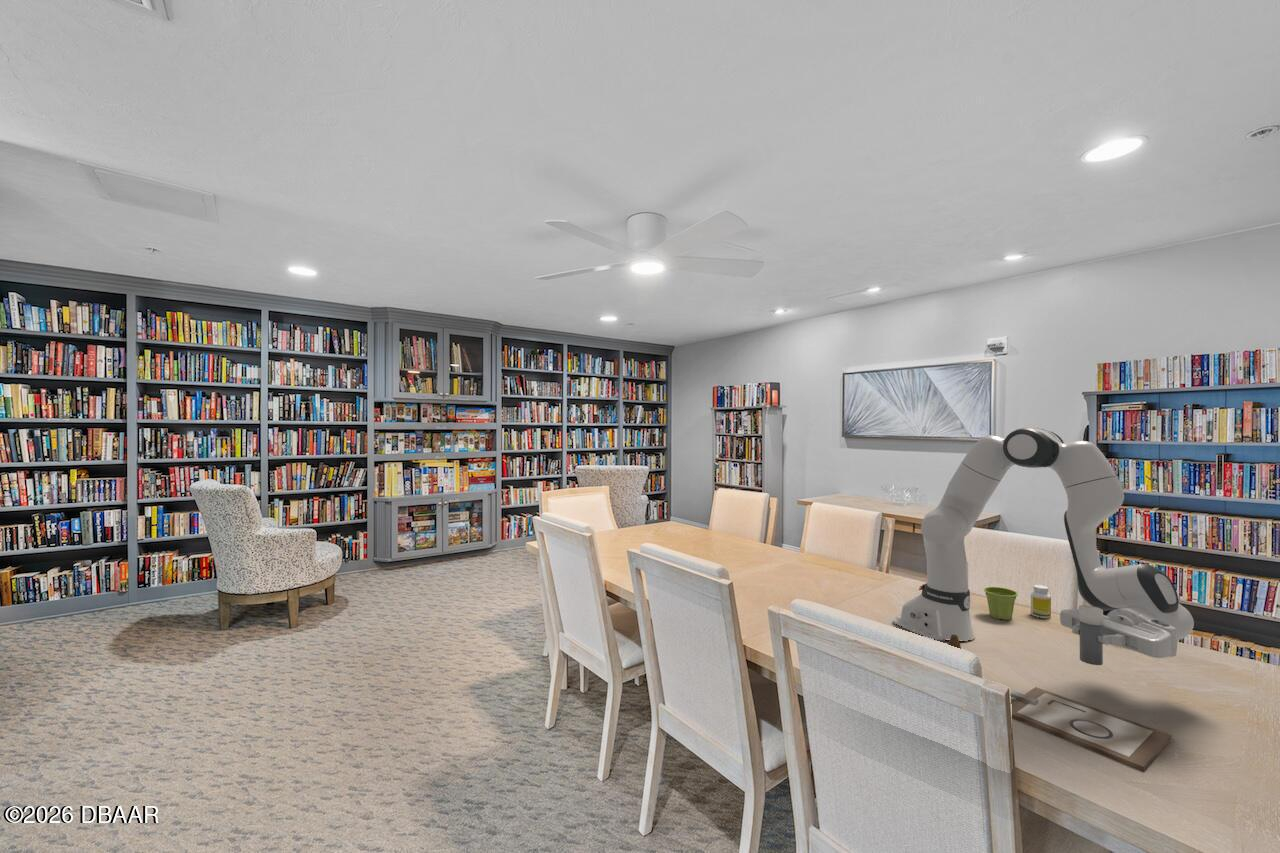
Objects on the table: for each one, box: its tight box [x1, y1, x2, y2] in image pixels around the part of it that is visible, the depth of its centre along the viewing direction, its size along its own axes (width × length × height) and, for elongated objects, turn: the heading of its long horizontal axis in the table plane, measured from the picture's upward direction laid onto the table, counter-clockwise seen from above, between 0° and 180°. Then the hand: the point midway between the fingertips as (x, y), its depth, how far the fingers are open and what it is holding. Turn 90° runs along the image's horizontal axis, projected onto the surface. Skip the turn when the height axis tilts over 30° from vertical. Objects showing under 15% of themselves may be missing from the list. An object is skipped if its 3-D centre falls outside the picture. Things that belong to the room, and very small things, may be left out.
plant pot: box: [983, 586, 1019, 621], centre depth 178 cm, size 9×9×9 cm
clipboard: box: [1010, 686, 1173, 772], centre depth 116 cm, size 26×18×2 cm
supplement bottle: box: [1030, 584, 1052, 619], centre depth 179 cm, size 5×5×10 cm
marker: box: [1078, 604, 1104, 666], centre depth 121 cm, size 4×4×12 cm
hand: (1088, 635), depth 121 cm, fingers closed on marker, 4 cm apart
